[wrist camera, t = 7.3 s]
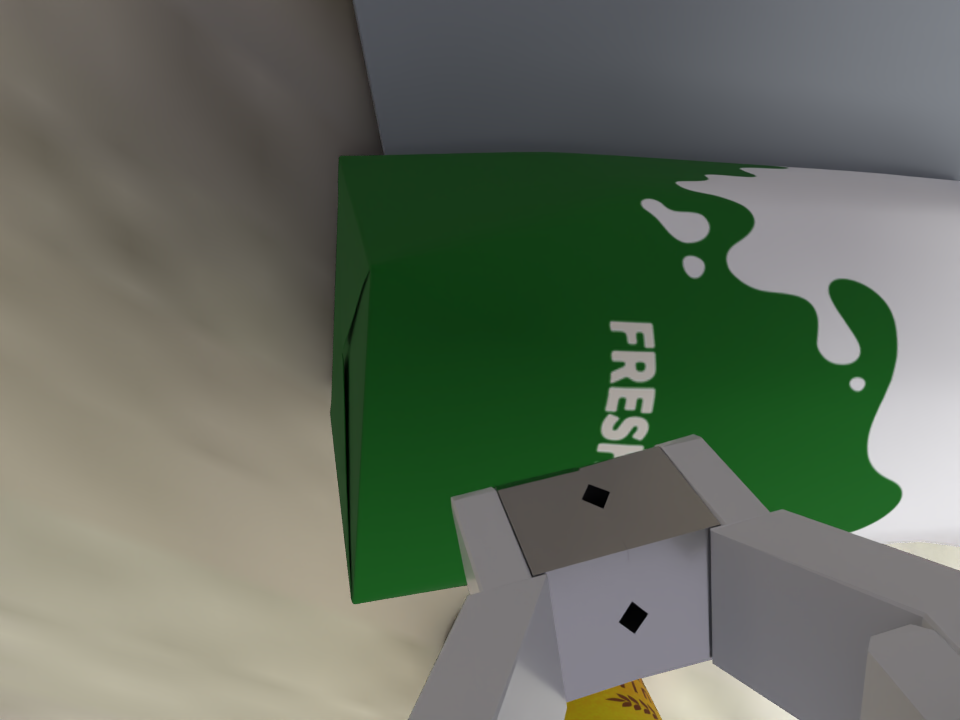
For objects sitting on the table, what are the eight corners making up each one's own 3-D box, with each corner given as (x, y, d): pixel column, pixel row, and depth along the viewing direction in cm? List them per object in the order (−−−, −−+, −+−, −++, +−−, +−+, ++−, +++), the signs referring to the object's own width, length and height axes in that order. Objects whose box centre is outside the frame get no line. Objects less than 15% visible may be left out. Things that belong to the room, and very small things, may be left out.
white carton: (325, 425, 23) (917, 412, 28) (352, 684, 15) (1170, 601, 20) (335, 104, 19) (1023, 156, 24) (378, 228, 11) (1389, 266, 16)
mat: (323, -139, 17) (325, -143, 17) (1196, -272, 20) (1220, -278, 19) (447, 466, 25) (451, 477, 24) (1071, 308, 27) (1087, 315, 27)
